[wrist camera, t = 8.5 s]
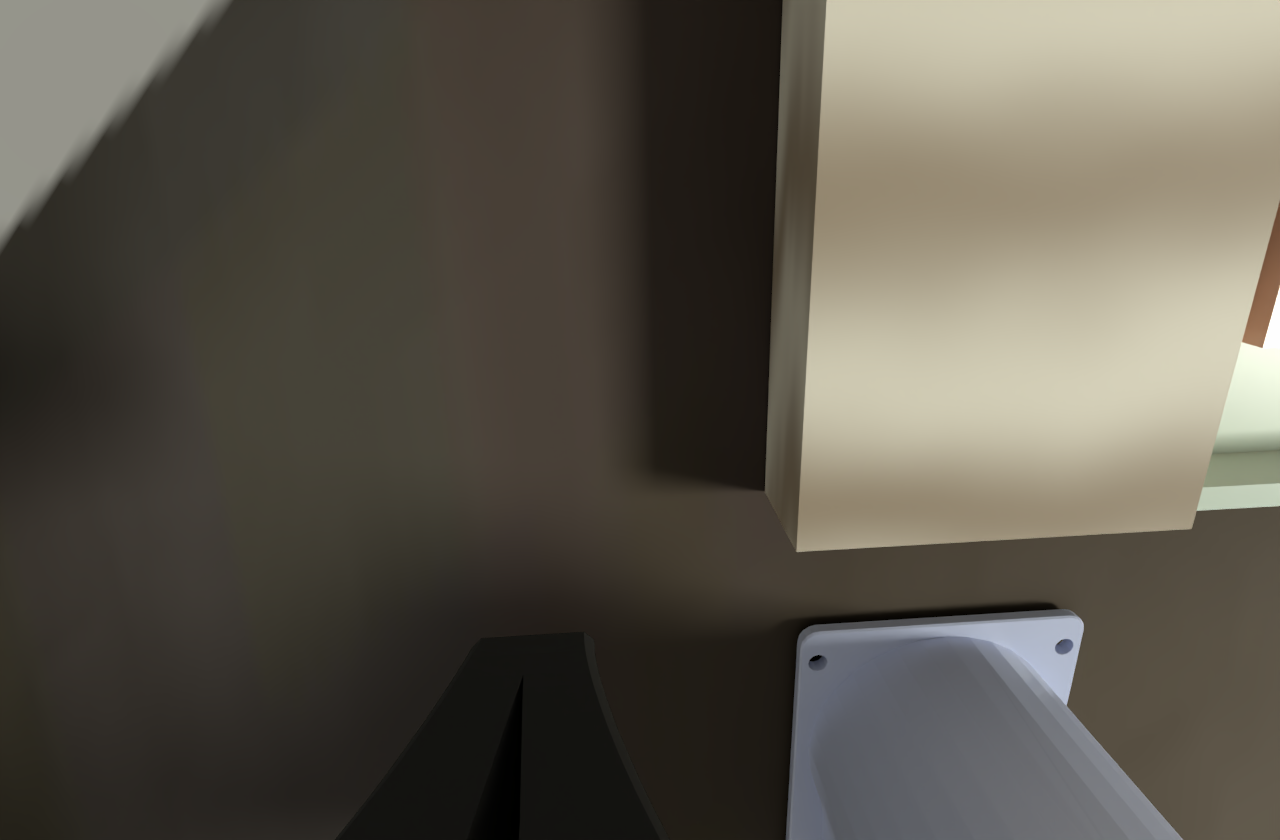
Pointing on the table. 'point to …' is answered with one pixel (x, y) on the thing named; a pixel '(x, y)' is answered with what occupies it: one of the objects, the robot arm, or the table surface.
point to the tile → (1267, 297)
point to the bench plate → (1012, 262)
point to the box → (1247, 436)
